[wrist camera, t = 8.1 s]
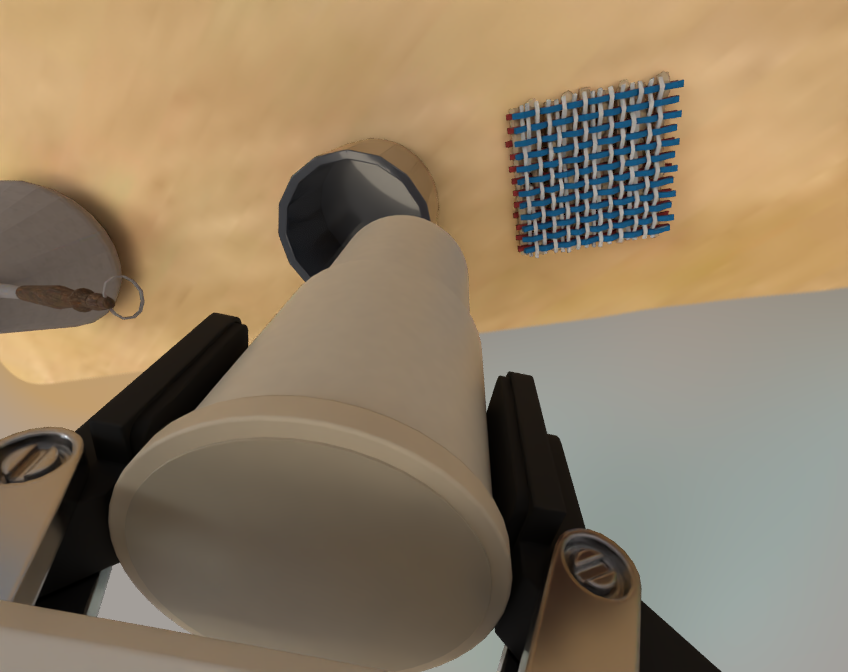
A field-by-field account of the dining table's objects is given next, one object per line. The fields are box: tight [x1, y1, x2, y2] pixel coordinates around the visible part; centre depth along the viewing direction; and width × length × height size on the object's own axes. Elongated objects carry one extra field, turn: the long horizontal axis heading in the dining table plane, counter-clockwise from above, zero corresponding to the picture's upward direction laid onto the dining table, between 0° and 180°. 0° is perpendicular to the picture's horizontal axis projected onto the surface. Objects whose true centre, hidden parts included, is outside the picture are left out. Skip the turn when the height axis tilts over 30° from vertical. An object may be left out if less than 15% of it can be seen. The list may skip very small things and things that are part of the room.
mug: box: [278, 138, 439, 282], centre depth 30 cm, size 12×9×8 cm
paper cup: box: [108, 215, 512, 672], centre depth 12 cm, size 6×6×13 cm
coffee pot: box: [0, 181, 144, 334], centre depth 29 cm, size 21×12×15 cm, turn 98°
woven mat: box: [505, 71, 684, 258], centre depth 30 cm, size 10×11×2 cm
